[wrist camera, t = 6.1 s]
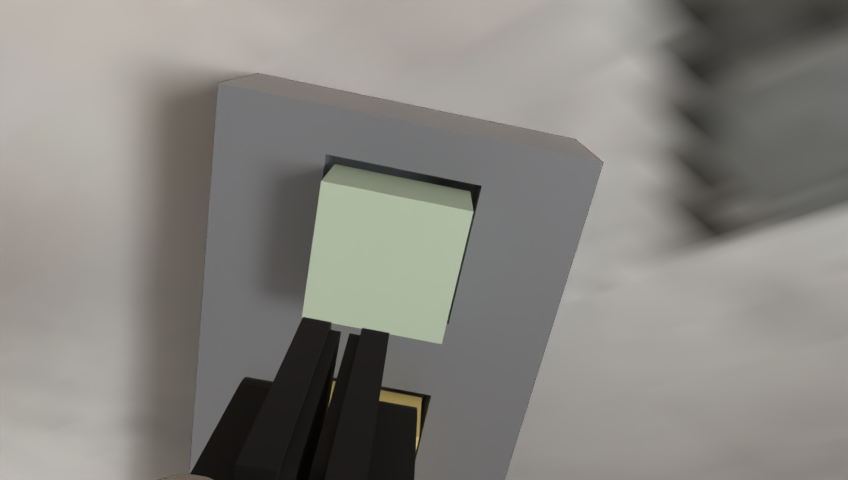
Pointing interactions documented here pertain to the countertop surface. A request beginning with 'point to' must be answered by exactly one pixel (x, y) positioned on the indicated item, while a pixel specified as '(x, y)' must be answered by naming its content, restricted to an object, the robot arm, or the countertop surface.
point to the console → (477, 280)
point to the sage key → (386, 253)
